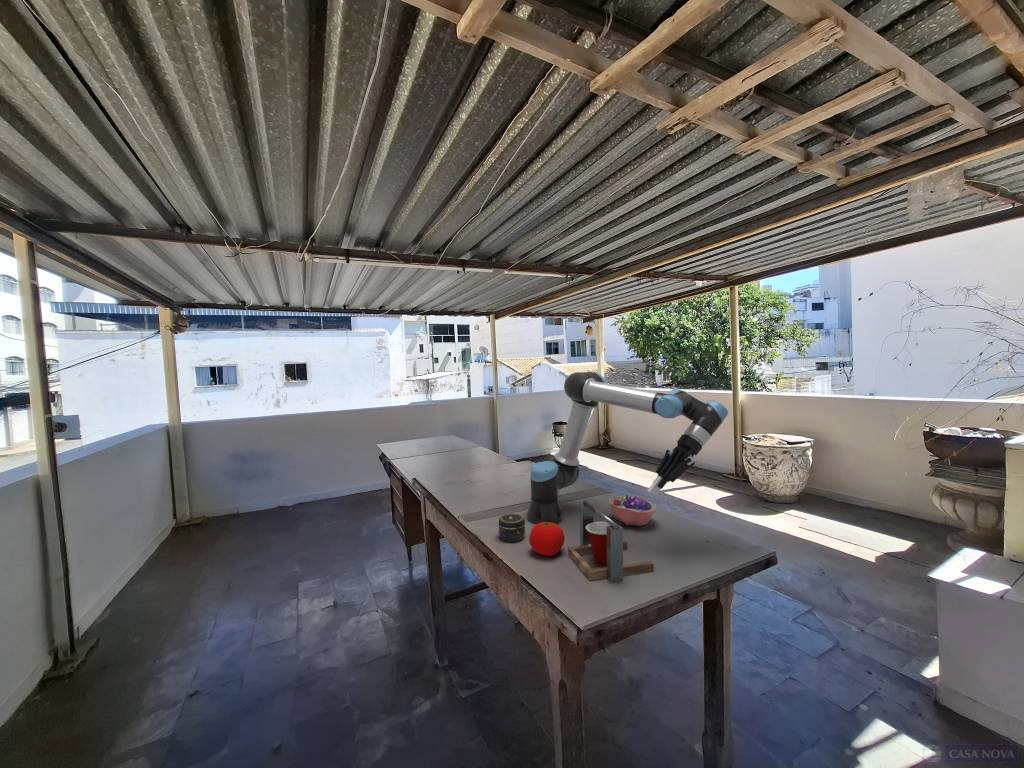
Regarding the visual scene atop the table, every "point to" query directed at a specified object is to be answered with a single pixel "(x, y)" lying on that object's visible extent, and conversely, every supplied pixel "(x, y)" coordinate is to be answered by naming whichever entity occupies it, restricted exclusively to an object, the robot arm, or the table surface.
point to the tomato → (546, 538)
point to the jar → (511, 527)
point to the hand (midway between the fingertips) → (650, 493)
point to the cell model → (632, 510)
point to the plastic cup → (598, 541)
